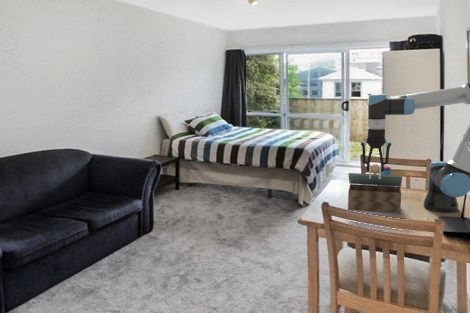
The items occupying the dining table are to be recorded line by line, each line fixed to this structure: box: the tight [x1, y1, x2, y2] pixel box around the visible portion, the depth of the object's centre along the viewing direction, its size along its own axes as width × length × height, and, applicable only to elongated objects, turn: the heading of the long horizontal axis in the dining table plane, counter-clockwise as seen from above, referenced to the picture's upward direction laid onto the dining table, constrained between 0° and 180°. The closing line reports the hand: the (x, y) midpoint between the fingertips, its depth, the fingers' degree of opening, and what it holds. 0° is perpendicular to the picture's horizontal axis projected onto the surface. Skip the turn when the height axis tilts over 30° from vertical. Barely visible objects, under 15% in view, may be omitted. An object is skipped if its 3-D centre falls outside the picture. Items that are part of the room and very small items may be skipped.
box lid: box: [347, 163, 403, 187], centre depth 195 cm, size 25×23×4 cm
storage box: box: [347, 184, 402, 214], centre depth 200 cm, size 24×12×10 cm, turn 71°
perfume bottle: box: [376, 165, 392, 186], centre depth 223 cm, size 9×9×15 cm
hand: (374, 178), depth 188 cm, fingers closed on box lid, 4 cm apart
